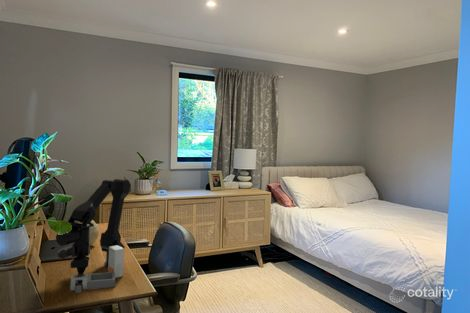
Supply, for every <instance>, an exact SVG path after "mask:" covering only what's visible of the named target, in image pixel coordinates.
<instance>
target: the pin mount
mask: <svg viewBox="0 0 470 313" xmlns="http://www.w3.org/2000/svg"><path fill="white" fill-rule="evenodd" d="M88 274H89V273H83V274H80V275H78V274H71V276H70V287H69V288H70V291H71V292H72V291H75V288H76V283H77V280H83V284H82V290H87V283H88Z"/></svg>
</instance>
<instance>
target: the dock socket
mask: <svg viewBox="0 0 470 313" xmlns="http://www.w3.org/2000/svg"><path fill="white" fill-rule="evenodd" d="M87 274H88V283H87V289H86V290H88V291H89V290H95V289H97V290H99V289H107V288H108V289H109V288H115V287H116V278H115V272H108V271H107V272H95V273H87Z"/></svg>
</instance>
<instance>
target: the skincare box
mask: <svg viewBox="0 0 470 313" xmlns="http://www.w3.org/2000/svg"><path fill="white" fill-rule="evenodd" d="M124 259H125V248H122V247H120V246H118V245H116V246H110V247H109V261H108V267H107V268H108V269H107V272H115V279H116V278H120V277H124V264H125V263H124V261H125V260H124Z"/></svg>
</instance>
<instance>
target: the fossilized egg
mask: <svg viewBox="0 0 470 313" xmlns="http://www.w3.org/2000/svg"><path fill="white" fill-rule="evenodd" d="M77 223H79V222H77ZM91 223H92V224H93V225H94V226H93V227H90V238H89V240H90V242H89V247H91V246H92V245H93V244H95V242H96V241H97V240H98V239H99V235H100V229H99V226H98V224H97V223H96V222H95V220H93V219H92V221H91ZM81 224H82V223H81Z"/></svg>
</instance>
